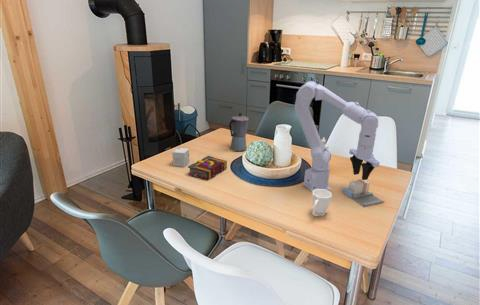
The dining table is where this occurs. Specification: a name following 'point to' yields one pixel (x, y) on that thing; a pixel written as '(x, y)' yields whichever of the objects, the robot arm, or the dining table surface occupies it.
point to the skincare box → (180, 157)
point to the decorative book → (207, 167)
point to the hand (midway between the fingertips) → (360, 176)
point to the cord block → (359, 187)
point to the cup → (321, 201)
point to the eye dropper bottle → (324, 142)
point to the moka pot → (238, 132)
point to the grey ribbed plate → (363, 198)
